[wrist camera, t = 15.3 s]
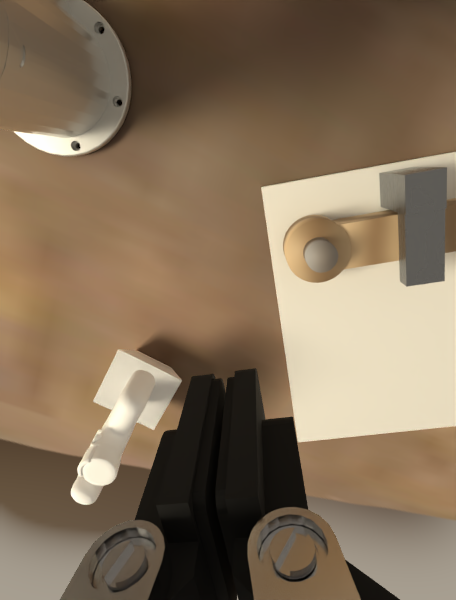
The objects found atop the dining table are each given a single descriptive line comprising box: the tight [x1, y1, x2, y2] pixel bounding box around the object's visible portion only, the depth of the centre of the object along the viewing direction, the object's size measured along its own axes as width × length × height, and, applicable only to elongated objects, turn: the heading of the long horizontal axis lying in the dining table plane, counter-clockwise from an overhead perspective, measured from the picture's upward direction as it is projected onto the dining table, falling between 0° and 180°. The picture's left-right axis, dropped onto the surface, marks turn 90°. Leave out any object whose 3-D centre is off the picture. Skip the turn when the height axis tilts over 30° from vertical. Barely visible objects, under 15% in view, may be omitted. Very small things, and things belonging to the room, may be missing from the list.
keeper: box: [379, 167, 447, 287], centre depth 32 cm, size 9×3×6 cm, turn 10°
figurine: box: [71, 349, 182, 505], centre depth 36 cm, size 7×9×15 cm
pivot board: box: [261, 151, 456, 442], centre depth 38 cm, size 29×30×1 cm
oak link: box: [283, 198, 456, 283], centre depth 32 cm, size 25×6×5 cm, turn 101°
